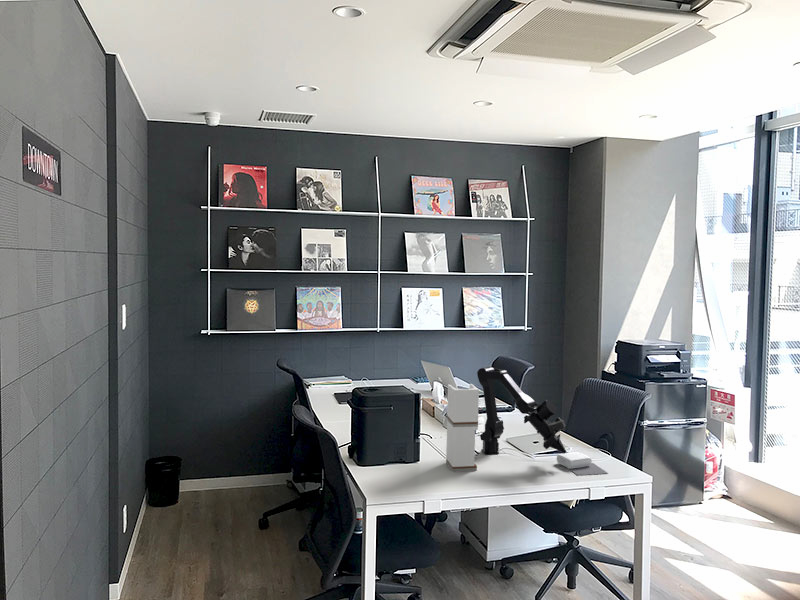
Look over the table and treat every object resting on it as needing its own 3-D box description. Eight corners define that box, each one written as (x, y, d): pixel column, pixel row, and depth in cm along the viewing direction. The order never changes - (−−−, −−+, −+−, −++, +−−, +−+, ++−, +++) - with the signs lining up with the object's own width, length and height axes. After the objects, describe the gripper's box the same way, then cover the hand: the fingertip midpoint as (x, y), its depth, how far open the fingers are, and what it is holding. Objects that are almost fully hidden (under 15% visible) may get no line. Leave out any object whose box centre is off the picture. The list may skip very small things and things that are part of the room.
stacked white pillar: (476, 470, 286) (478, 389, 283) (452, 471, 284) (454, 390, 281) (469, 461, 297) (471, 383, 294) (446, 462, 295) (447, 384, 292)
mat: (577, 475, 282) (577, 474, 282) (563, 465, 295) (563, 464, 295) (607, 473, 285) (608, 473, 285) (593, 463, 297) (593, 463, 297)
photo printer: (556, 453, 297) (579, 450, 302) (556, 462, 297) (578, 459, 302) (571, 460, 287) (594, 456, 292) (570, 470, 288) (594, 466, 293)
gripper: (552, 418, 282) (578, 447, 279) (556, 408, 299) (581, 435, 297) (532, 434, 285) (558, 463, 282) (537, 423, 302) (562, 450, 300)
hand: (565, 452), depth 290 cm, fingers closed
